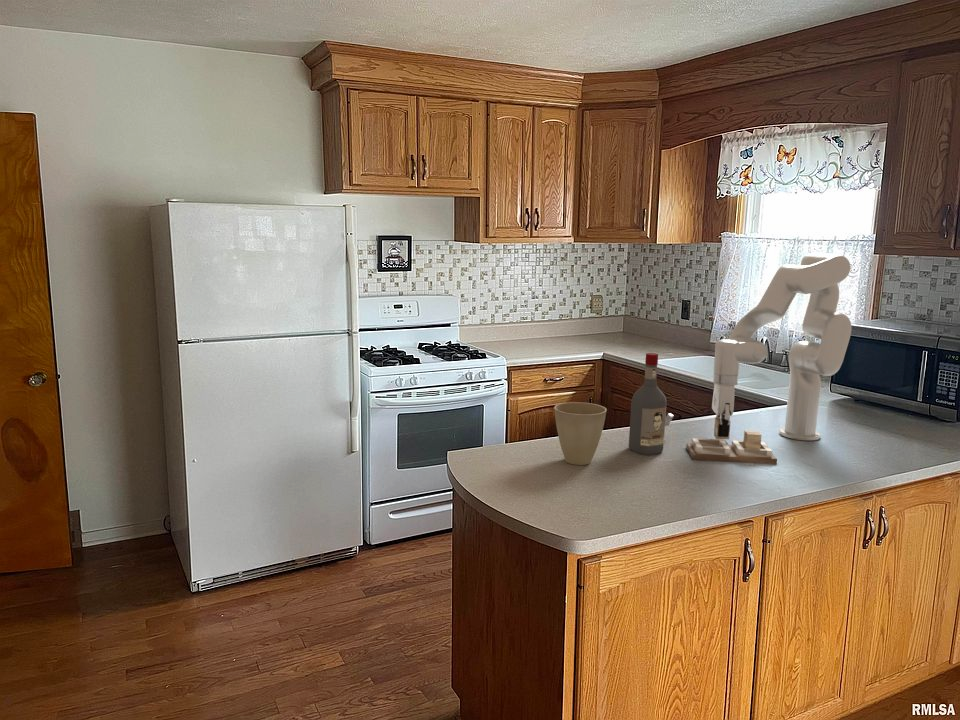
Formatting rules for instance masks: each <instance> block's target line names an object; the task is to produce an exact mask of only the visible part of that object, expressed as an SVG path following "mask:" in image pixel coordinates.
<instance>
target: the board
mask: <svg viewBox="0 0 960 720" xmlns="http://www.w3.org/2000/svg"><path fill="white" fill-rule="evenodd" d="M686 447H687V448H686V449H688V450H687V451H688V453H689V455H690V456H691V458H693V459H692V461H693V460H694V461H695V460H696V461H709V462H711V461H712V462H714V461H715V462H728V463H729V462H730V463H753V464H769V465H772V464H773V465H777V464H778V458H777V456H776V455H774V454H773V450H772V449H771V448H770V447H769V446H768V445H767V444H766V442H765V441H762V433H761V432H760V431H759V430H744V431H743V440H741V439H740V440H739V439H737V440H736V439H732V440H731V444H727V442H726V440H725V439H716V438H697V437H696V438H695V437H692V438H691V442H686Z"/></svg>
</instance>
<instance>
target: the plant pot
mask: <svg viewBox="0 0 960 720" xmlns="http://www.w3.org/2000/svg"><path fill="white" fill-rule="evenodd" d="M607 410H608V409H607V407H605V406H602V405H601V404H600V405H599V404H596V403H590V402H580V401H579V402H571V401H569V402H561V403H558V404H556V405H554V416H555V425H556V431H557V435H558V436H557V437H558V439H559V444H560V448H561V452H562V454H563V458H564V460H565V462H566V463H568V464H571V465H576V466H585V465H589V464H591V462H592V460H593V458H594V457H595V453H596V451H597V448H598V446H599V443H600V439H601V436H602V433H603V430H604V426H605V421H606V416H607Z"/></svg>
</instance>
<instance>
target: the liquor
mask: <svg viewBox="0 0 960 720" xmlns="http://www.w3.org/2000/svg"><path fill="white" fill-rule="evenodd" d="M658 364H659V353H655V352H647V353H645V364H644V365H645V368H644V369H645V371H644V380H643V383H642V386H640V387H639V388H638V389H637V390H636V391H635V393H633V395H632V398H631V403H630V416H629V417H630V418H629V419H630V420H629V435H628V449H629V450H630V451H632V452H634V453H637V454H639V455H644V456H651V455H657V454H662V452H663V449H664V446H665V445H664V443H665V435H664V431H665V432H666V426H665V418H666V417H667V413H666V412H667V403H668V402H667V397H666V395H665V393H663V391H662V390H661V389H660V388H659V386H658V383H657V370H658Z"/></svg>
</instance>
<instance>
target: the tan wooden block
mask: <svg viewBox="0 0 960 720" xmlns="http://www.w3.org/2000/svg"><path fill="white" fill-rule="evenodd" d="M722 419H723V418H722ZM719 424H720V418H716V416H715V417H714V428H713V436H714V439H722V440H730V436H731V435H730V432H731V420H730V421H729V436H728V437H719V436H718V427H719Z"/></svg>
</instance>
